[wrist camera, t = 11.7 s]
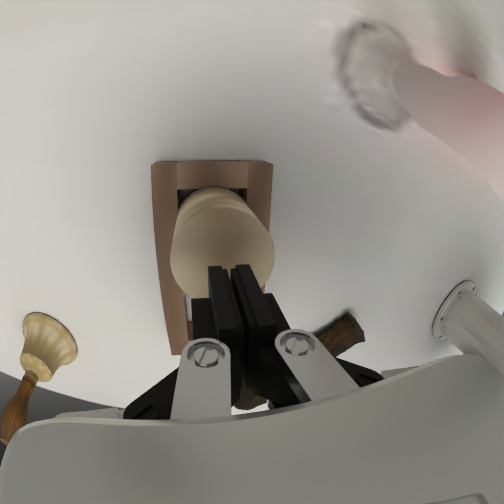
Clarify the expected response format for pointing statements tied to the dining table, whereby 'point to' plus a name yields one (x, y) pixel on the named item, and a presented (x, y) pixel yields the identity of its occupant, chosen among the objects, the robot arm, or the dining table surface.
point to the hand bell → (37, 365)
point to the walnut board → (166, 208)
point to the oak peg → (217, 239)
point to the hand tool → (333, 340)
